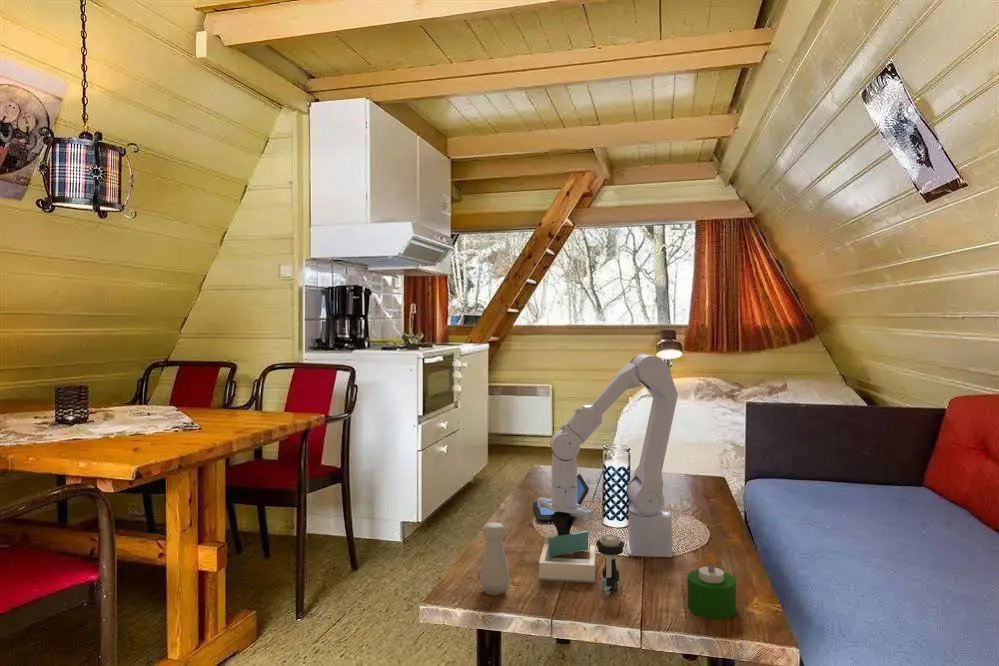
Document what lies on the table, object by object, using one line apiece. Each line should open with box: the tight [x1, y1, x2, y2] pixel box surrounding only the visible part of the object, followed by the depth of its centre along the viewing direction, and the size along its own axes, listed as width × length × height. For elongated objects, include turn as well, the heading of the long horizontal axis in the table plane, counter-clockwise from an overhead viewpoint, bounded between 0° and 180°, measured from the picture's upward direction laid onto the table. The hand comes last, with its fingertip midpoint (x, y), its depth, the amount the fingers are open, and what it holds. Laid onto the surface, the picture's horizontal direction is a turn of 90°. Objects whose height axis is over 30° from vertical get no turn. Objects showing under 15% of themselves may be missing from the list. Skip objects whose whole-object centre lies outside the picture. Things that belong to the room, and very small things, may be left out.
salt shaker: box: [479, 522, 511, 596], centre depth 122 cm, size 6×6×13 cm
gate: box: [543, 530, 589, 558], centre depth 140 cm, size 11×1×4 cm, turn 114°
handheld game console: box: [532, 473, 590, 524], centre depth 169 cm, size 16×13×9 cm
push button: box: [595, 534, 625, 596], centre depth 121 cm, size 7×5×10 cm
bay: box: [538, 543, 597, 584], centre depth 131 cm, size 11×11×4 cm
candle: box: [686, 553, 737, 620], centre depth 113 cm, size 8×8×10 cm
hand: (564, 545), depth 142 cm, fingers closed, pressing on gate
